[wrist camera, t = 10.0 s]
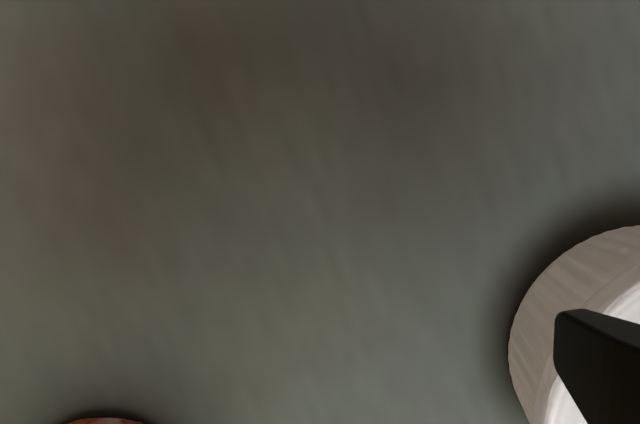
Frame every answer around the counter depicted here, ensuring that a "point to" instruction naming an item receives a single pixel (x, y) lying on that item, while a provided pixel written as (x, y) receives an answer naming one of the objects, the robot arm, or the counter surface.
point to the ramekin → (566, 294)
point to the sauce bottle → (105, 421)
